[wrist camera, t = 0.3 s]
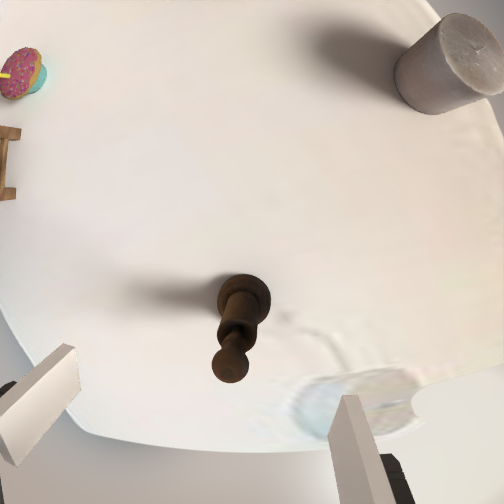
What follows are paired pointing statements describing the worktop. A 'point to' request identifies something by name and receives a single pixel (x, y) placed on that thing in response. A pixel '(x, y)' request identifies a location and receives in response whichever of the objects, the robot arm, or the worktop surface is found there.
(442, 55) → the pillar candle
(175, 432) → the worktop surface
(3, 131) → the walnut stool
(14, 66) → the cupcake
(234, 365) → the brown chess pawn
